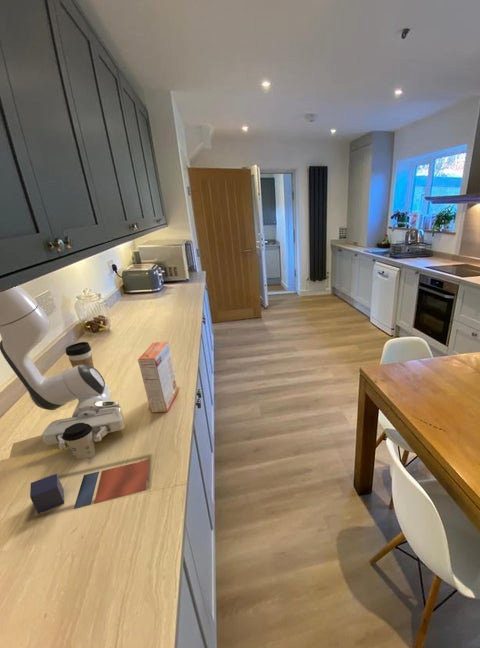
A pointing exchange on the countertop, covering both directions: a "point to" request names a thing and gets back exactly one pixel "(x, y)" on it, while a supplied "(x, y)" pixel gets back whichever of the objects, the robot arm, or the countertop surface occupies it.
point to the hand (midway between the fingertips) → (80, 443)
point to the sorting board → (113, 483)
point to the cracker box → (158, 376)
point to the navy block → (47, 493)
